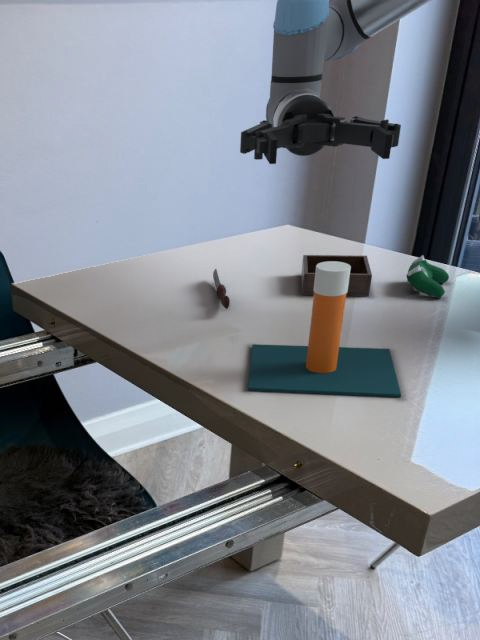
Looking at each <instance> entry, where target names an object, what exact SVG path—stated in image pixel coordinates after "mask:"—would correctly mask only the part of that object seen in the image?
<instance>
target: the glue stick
mask: <svg viewBox="0 0 480 640" xmlns="http://www.w3.org/2000/svg"><path fill="white" fill-rule="evenodd" d="M350 270H351V266H350V265H349V264H347V263H343V262H337V261H328V262H321V263H319V264H317V265H316V272H315V281H314V295H313V298H312V299H313V300H312V306H311V307H312V308H311V316H310V324H309V325H310V326H309V334H308V343H307V346H308V351H307V360H306V368H307V369H308V370H309V371H312V372H315V373H330V372H333V371H335V370H336V367H337V359H338V352H339V347H340V344H341V337H342V330H343V322H344V313H345V307H346V300H347V296H346V293H347V292H348V284H349V277H350Z"/></svg>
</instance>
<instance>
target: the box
mask: <svg viewBox="0 0 480 640" xmlns="http://www.w3.org/2000/svg"><path fill="white" fill-rule="evenodd" d="M328 261H337V262H343V263H347V264H349V265H350V266H351V270H350V277H349V284H348V292H347V293H346V297H370V291H371V285H372V279H373V274H372V270H371V265H370V263H369V258H368V255H351V254H350V255H347V254H346V255H344V254H341V255H337V254H323V255H322V254H303V255H302V263H301V279H300V280H301V295H302V296H314V281H315V272H316V265H317V264H319V263H321V262H328Z"/></svg>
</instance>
